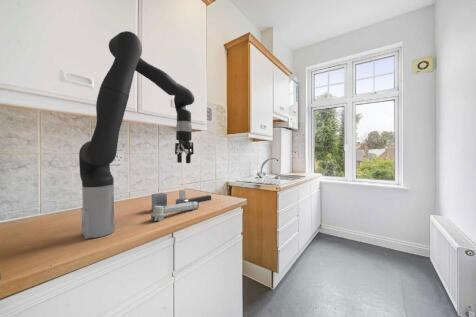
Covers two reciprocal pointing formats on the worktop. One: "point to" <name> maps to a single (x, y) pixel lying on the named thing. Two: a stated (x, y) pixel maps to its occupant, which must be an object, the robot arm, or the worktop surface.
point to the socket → (159, 200)
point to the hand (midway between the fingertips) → (183, 162)
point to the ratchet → (197, 199)
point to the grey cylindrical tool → (171, 209)
